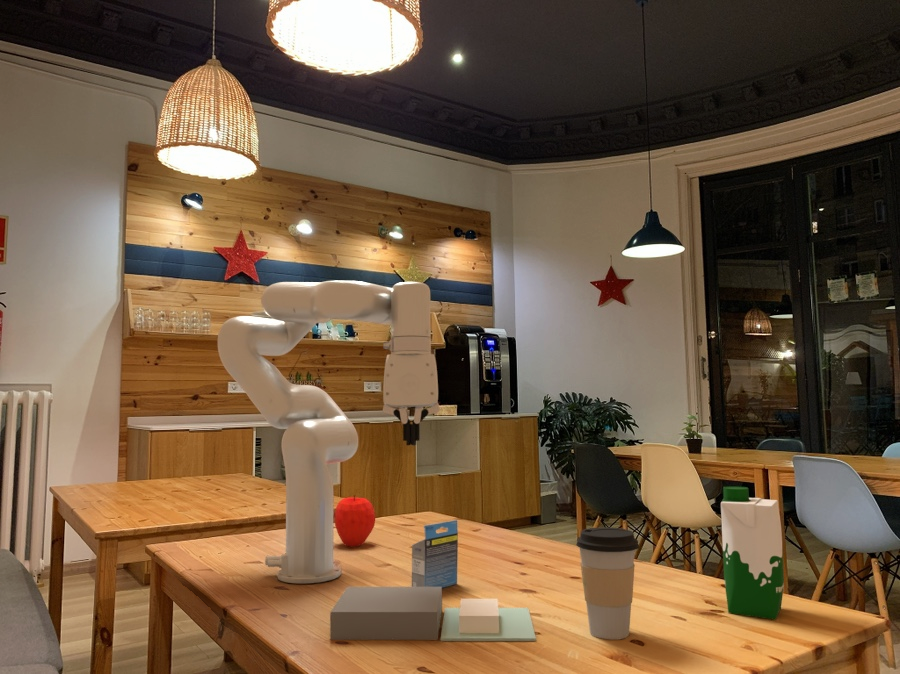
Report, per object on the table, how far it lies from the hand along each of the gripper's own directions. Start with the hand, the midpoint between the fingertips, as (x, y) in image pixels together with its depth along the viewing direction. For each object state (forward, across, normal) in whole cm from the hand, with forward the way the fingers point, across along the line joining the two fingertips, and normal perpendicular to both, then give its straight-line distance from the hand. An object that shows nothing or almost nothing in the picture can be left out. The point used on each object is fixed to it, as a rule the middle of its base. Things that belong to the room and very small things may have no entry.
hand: (411, 444), depth 130 cm
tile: (+24, +12, -19) cm, 33 cm away
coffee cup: (+27, +32, -22) cm, 47 cm away
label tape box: (+27, +4, +4) cm, 28 cm away
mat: (+27, +14, -18) cm, 35 cm away
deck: (+27, -2, -18) cm, 33 cm away
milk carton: (+27, +58, -11) cm, 65 cm away
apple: (+27, -18, +42) cm, 53 cm away
